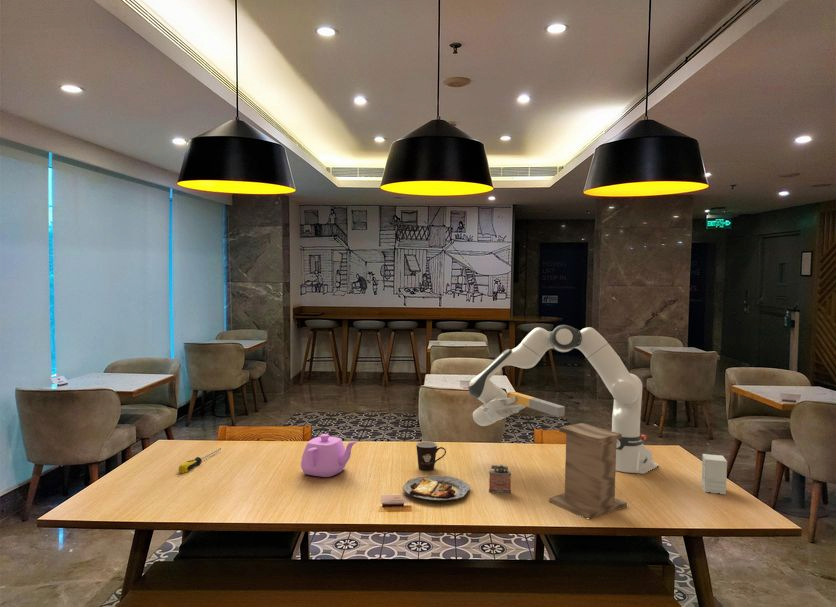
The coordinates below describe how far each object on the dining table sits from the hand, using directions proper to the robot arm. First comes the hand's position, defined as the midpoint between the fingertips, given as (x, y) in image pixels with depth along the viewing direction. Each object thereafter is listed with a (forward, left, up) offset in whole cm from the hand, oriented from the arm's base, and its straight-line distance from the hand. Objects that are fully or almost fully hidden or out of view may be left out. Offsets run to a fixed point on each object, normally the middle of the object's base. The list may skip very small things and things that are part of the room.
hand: (520, 397), depth 224 cm
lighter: (+19, +10, -31) cm, 38 cm away
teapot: (+65, -42, -31) cm, 83 cm away
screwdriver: (+104, -80, -32) cm, 135 cm away
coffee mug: (+27, -24, -31) cm, 48 cm away
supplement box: (-52, +50, -31) cm, 79 cm away
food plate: (+39, -2, -32) cm, 50 cm away
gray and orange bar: (0, +9, -2) cm, 9 cm away
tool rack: (0, +35, -31) cm, 47 cm away
